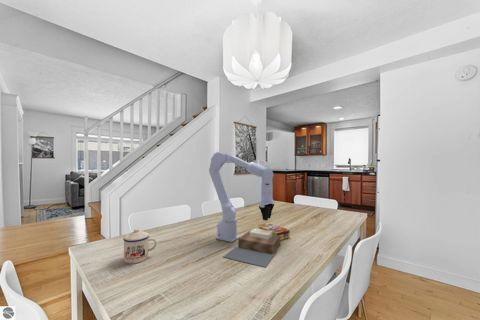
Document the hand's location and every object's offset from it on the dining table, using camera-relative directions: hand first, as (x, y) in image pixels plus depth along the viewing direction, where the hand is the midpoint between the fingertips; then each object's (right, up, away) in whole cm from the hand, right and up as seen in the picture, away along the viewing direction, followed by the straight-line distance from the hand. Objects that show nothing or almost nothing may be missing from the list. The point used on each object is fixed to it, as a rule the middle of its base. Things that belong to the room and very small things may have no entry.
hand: (266, 219), depth 103 cm
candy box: (+9, -8, -1) cm, 12 cm away
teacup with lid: (-53, -9, -22) cm, 58 cm away
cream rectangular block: (-4, -6, -7) cm, 10 cm away
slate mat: (-10, -9, -20) cm, 24 cm away
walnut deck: (-4, -10, -9) cm, 14 cm away
